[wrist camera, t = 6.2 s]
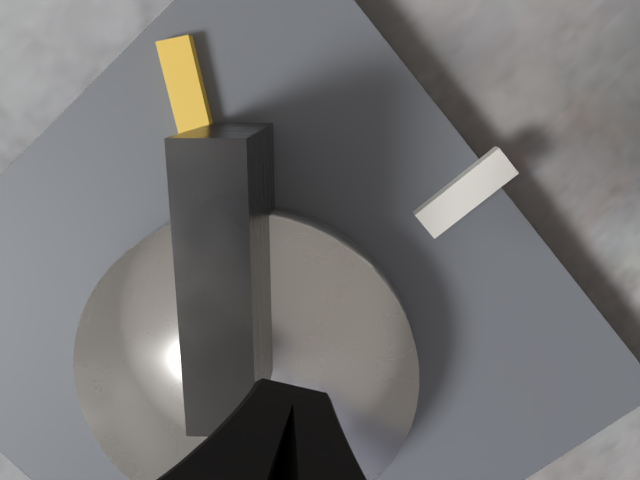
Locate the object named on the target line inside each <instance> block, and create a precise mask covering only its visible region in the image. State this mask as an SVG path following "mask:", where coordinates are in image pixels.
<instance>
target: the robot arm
mask: <svg viewBox="0 0 640 480" xmlns="http://www.w3.org/2000/svg"><path fill="white" fill-rule="evenodd" d="M156 480H367V479H366V477H365V475H364V473H363V471H362V469H361V467H360V465H359V464H358V462H357V460H356V458H355V456H354V454H353V452H352V450H351V447H350V445H349V443H348V441H347V439H346V436H345V434H344V432H343V430H342V427H341V425H340V422H339V420H338V418H337V415H336V412H335V410H334V407H333V404H332V401H331V399H330V397H329V396H328V394H327V393H325V392H321V391H316V390H312V389H308V388H303V387H299V386H295V385H290V384H286V383H282V382H277V381H273V380H268V379H264V378H262V379H260V380H258V381H256V382H255V383H254V385H253V387H252V388H251V390H250V391H249V393H248V394H247V395H246V397H245V398H244V399H243V401H242V402H241V403H240V404H239V405H238V406H237V408H236V409H235V410H234V411H233V412H232V413H231V414H230V415H229V416H228V417H227V418H226V419H225V420H224V421H223V422H222V424H221V425H220V426H219V427H218V428H217V429H216V430H215V431H214V432H213V433H212V434H211V435H210V436H209V437H207V438H206V439H205V440H204V441H203V442H202V443H201V444H199V445H198V446H197V447H196V448H195V449H194V450H193V451H191V452H190V453H189V454H188V455H187V456H186V457H185V458H183V459H182V460H181V461H180V462H179V463H177V464H176V465H175V466H174V467H172V468H171V469H170V470H169V471H167V472H166V473H165V474H163V475H162V476H161V477H159V478H158V479H156Z"/></svg>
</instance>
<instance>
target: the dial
mask: <svg viewBox="0 0 640 480" xmlns="http://www.w3.org/2000/svg"><path fill="white" fill-rule="evenodd" d="M164 142H165V156H166V169H167V182H168V196H169V209H170V222H168V223H166V224H164V225H162V226H161V227H159V228H158V229H156V230H155V231H153V232H152V233H150V234H149V235H147V236H146V237H144V238H143V239H142V240H141V241H139V242H138V243H137V244H136V245H134V246H133V247H132V248H130V249H129V250H128V251H127V252H126V253H125V254H123V255H122V256H121V257H120V258H119V259H118V260H117V261H116V262H115V263H114V264H113V265H111V267H110V268H109V269H108V270H107V272H106V273H105V274H104V275H103V277H102V278H101V279H100V280H99V281H98V283H97V285H96V286H95V288H94V290H93V291H92V293H91V295H90V296H89V298H88V300H87V302H86V305H85V307H84V310H83V312H82V315H81V317H80V320H79V324H78V328H77V332H76V336H75V342H74V354H73V369H74V382H75V387H76V391H77V396H78V401H79V404H80V406H81V409H82V412H83V415H84V418H85V420H86V422H87V424H88V426H89V428H90V430H91V432H92V434H93V436H94V438H95V439H96V441H97V442H98V444H99V445H100V447H101V448H102V450H103V451H104V453H105V454H106V455H107V456H108V458H109V459H110V460H111V461H112V462H113V463H114V465H115V466H116V467H117V468H118V469H119V470H120V471H121V472H122V473H123V474H124V475H125V476H126V477H128V478H129V479H130V480H156V479H158V478H159V477H161V476H162V475H163V474H165V473H166V472H167V471H169V470H170V469H171V468H172V467H174V466H175V465H176V464H177V463H179V462H180V461H181V460H182V459H183V458H185V457H186V456H187V455H188V454H189V453H190V452H191V451H193V450H194V449H195V448H196V447H197V446H198V445H199V444H201V443H202V442H203V441H204V440H205V439H206V438H207V437H209V436H210V435H211V434H212V433H213V432H214V431H215V430H216V429H217V428H218V427H219V426H220V425H221V424H222V422H223V421H224V420H225V419H226V418H227V417H228V416H229V415H230V414H231V413H232V412H233V411H234V410H235V409H236V408H237V406H238V405H239V404H240V403H241V402H242V401H243V399H244V398H245V397H246V395H247V394H248V393H249V391H250V390H251V388H252V387H253V385H254V383H255V382H256V381H258V380H260V379H262V378H264V379H268V380H273V381H277V382H282V383H286V384H290V385H295V386H299V387H303V388H308V389H312V390H316V391H321V392H325V393H327V394H328V396H329V397H330V399H331V401H332V404H333V407H334V410H335V412H336V415H337V418H338V420H339V422H340V425H341V427H342V430H343V432H344V434H345V436H346V439H347V441H348V443H349V445H350V447H351V450H352V452H353V454H354V456H355V458H356V460H357V462H358V464H359V465H360V467H361V469H362V471H363V473H364V475H365V477H366V479H367V480H377V479H378V478H379V477H380V476H381V475H382V473H383V472H384V471H385V470H386V469H387V467H388V466H389V465H390V464H391V463H392V462H393V460H394V458H395V457H396V455H397V454H398V452H399V450H400V449H401V447H402V446H403V444H404V442H405V440H406V437H407V435H408V433H409V431H410V428H411V426H412V422H413V419H414V415H415V412H416V408H417V402H418V394H419V363H418V357H417V351H416V345H415V342H414V338H413V335H412V331H411V328H410V324H409V321H408V318H407V315H406V312H405V309H404V306H403V304H402V301H401V299H400V297H399V295H398V293H397V291H396V289H395V287H394V286H393V284H392V283H391V281H390V280H389V278H388V277H387V275H386V274H385V272H384V271H383V269H382V268H381V267H380V266H379V265H378V264H377V262H376V261H375V260H374V259H373V258H372V257H371V256H370V255H369V253H367V252H366V251H365V250H364V249H363V248H362V247H360V246H359V245H358V244H357V243H356V242H355V241H354V240H352V239H351V238H349V237H348V236H346V235H345V234H343V233H342V232H340V231H339V230H337V229H336V228H334V227H333V226H331V225H328V224H326V223H324V222H322V221H320V220H318V219H316V218H314V217H312V216H309V215H306V214H303V213H300V212H297V211H294V210H291V209H286V208H281V207H276V206H275V186H274V140H273V123H212V124H209V125H206V126H202V127H199V128H196V129H192V130H189V131H186V132H183V133H179V134H176V135H173V136H170V137H166V138H164Z"/></svg>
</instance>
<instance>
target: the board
mask: <svg viewBox="0 0 640 480" xmlns="http://www.w3.org/2000/svg"><path fill="white" fill-rule="evenodd" d="M212 123H273V140H274V186H275V206H276V207H281V208H286V209H291V210H294V211H297V212H300V213H303V214H306V215H309V216H312V217H314V218H316V219H318V220H320V221H322V222H324V223H326V224H328V225H331V226H333V227H334V228H336V229H337V230H339V231H340V232H342V233H343V234H345V235H346V236H348V237H349V238H351V239H352V240H354V241H355V242H356V243H357V244H358V245H359V246H360V247H362V248H363V249H364V250H365V251H366V252H367V253H369V255H370V256H371V257H372V258H373V259H374V260H375V261H376V262H377V264H378V265H379V266H380V267H381V268H382V269H383V271H384V272H385V274H386V275H387V277H388V278H389V280H390V281H391V283H392V284H393V286H394V287H395V289H396V291H397V293H398V295H399V297H400V299H401V301H402V304H403V306H404V309H405V312H406V315H407V318H408V321H409V324H410V328H411V331H412V335H413V338H414V342H415V345H416V351H417V357H418V363H419V394H418V402H417V408H416V412H415V415H414V419H413V422H412V426H411V428H410V431H409V433H408V435H407V437H406V440H405V442H404V444H403V446H402V447H401V449H400V450H399V452H398V454H397V455H396V457H395V458H394V460H393V462H392V463H391V464H390V465H389V466H388V467H387V469H386V470H385V471H384V472H383V473H382V475H381V476H380V477H379V478H378V479H377V480H525V479H526V478H528V477H529V476H531V475H533V474H534V473H536V472H537V471H539V470H540V469H542V468H543V467H545V466H547V465H548V464H550V463H551V462H553V461H554V460H556V459H557V458H559V457H561V456H562V455H564V454H565V453H567V452H568V451H570V450H571V449H573V448H575V447H576V446H578V445H579V444H581V443H582V442H584V441H586V440H587V439H589V438H590V437H592V436H593V435H595V434H596V433H598V432H600V431H601V430H603V429H604V428H606V427H607V426H609V425H610V424H612V423H614V422H615V421H617V420H618V419H620V418H621V417H623V416H624V415H626V414H628V413H629V412H631V411H632V410H634V409H635V408H637V407H638V406H640V363H639V361H638V360H637V359H636V358H635V356H634V355H633V354H632V353H631V351H630V350H629V349H628V347H627V346H626V345H625V344H624V342H623V341H622V340H621V339H620V337H619V336H618V335H617V334H616V332H615V331H614V330H613V328H612V327H611V326H610V325H609V323H608V322H607V321H606V320H605V318H604V317H603V316H602V314H601V313H600V312H599V311H598V309H597V308H596V307H595V306H594V304H593V303H592V302H591V300H590V299H589V298H588V297H587V295H586V294H585V293H584V292H583V290H582V289H581V288H580V287H579V285H578V284H577V283H576V281H575V280H574V279H573V278H572V276H571V275H570V274H569V273H568V271H567V270H566V269H565V267H564V266H563V265H562V264H561V262H560V261H559V260H558V259H557V257H556V256H555V255H554V253H553V252H552V251H551V250H550V248H549V247H548V246H547V245H546V243H545V242H544V241H543V239H542V238H541V237H540V236H539V234H538V233H537V232H536V231H535V229H534V228H533V227H532V226H531V224H530V223H529V222H528V220H527V219H526V218H525V217H524V215H523V214H522V213H521V212H520V210H519V209H518V208H517V206H516V205H515V204H514V203H513V201H512V200H511V199H510V198H509V196H508V195H507V194H506V192H505V191H504V190H503V189H502V186H503V185H505V184H506V183H507V182H508V181H510V180H511V179H512V178H514V177H515V176H516V175H517V174H519V173H518V171H517V170H516V169H515V168H514V166H513V165H512V164H511V162H510V161H509V160H508V158H507V157H506V156H505V155H504V153H503V152H502V151H501V149H500V148H498V147H496V146H495V147H493V148H492V149H491V150H490V151H488V152H487V153H486V154H485V155H483V156H482V157H481V158H480V159H479V158H478V157H477V156H476V154H475V153H474V152H473V151H472V149H471V148H470V147H469V145H468V144H467V143H466V142H465V140H464V139H463V138H462V137H461V135H460V134H459V133H458V132H457V130H456V129H455V128H454V126H453V125H452V124H451V123H450V121H449V120H448V119H447V118H446V116H445V115H444V114H443V112H442V111H441V110H440V109H439V107H438V106H437V105H436V104H435V102H434V101H433V100H432V98H431V97H430V96H429V95H428V93H427V92H426V91H425V90H424V88H423V87H422V86H421V85H420V83H419V82H418V81H417V79H416V78H415V77H414V76H413V74H412V73H411V72H410V71H409V69H408V68H407V67H406V65H405V64H404V63H403V62H402V60H401V59H400V58H399V57H398V55H397V54H396V53H395V51H394V50H393V49H392V48H391V46H390V45H389V44H388V43H387V41H386V40H385V39H384V38H383V36H382V35H381V34H380V32H379V31H378V30H377V29H376V27H375V26H374V25H373V24H372V22H371V21H370V20H369V18H368V17H367V16H366V15H365V13H364V12H363V11H362V10H361V8H360V7H359V6H358V4H357V3H356V2H355V1H354V0H174V1H173V2H172V3H171V4H170V5H169V6H168V7H167V8H166V9H165V10H164V11H163V12H162V13H161V14H160V15H159V16H158V17H157V18H156V19H155V20H154V21H153V22H152V23H151V24H150V25H149V26H148V27H147V28H146V29H145V30H144V31H143V32H142V33H141V34H140V35H139V36H138V37H137V38H136V39H135V40H134V41H133V42H132V43H131V44H130V45H129V46H128V47H127V48H126V49H125V50H124V51H123V53H122V54H121V55H120V56H119V57H118V58H117V59H116V60H115V61H114V62H113V63H112V64H111V65H110V66H109V67H108V68H107V69H106V70H105V71H104V72H103V73H102V74H101V75H100V76H99V77H98V78H97V79H96V80H95V81H94V82H93V83H92V84H91V85H90V86H89V87H88V88H87V89H86V90H85V91H84V92H83V93H82V94H81V95H80V96H79V97H78V98H77V99H76V100H75V101H74V102H73V103H72V104H71V105H70V106H69V107H68V108H67V109H66V110H65V111H64V112H63V113H62V114H61V115H60V116H59V117H58V118H57V119H56V120H55V121H54V122H53V123H52V124H51V125H50V126H49V127H48V128H47V129H46V130H45V131H44V132H43V133H42V134H41V135H40V136H39V137H38V138H37V139H36V140H35V141H34V142H33V143H32V144H31V145H30V146H29V147H28V148H27V149H26V150H25V151H24V152H23V153H22V154H21V155H20V156H19V157H18V158H17V159H16V160H15V161H14V162H13V163H12V164H11V165H10V166H9V167H8V168H7V169H6V170H5V171H4V172H3V173H2V174H1V175H0V452H1V453H2V454H3V455H4V456H5V457H6V458H7V459H9V460H10V461H11V462H12V463H13V464H14V465H15V466H17V467H18V468H19V469H20V470H21V471H22V472H23V473H24V474H26V475H27V476H28V477H29V478H30V479H31V480H130V479H129V478H128V477H126V476H125V475H124V474H123V473H122V472H121V471H120V470H119V469H118V468H117V467H116V466H115V465H114V463H113V462H112V461H111V460H110V459H109V458H108V456H107V455H106V454H105V453H104V451H103V450H102V448H101V447H100V445H99V444H98V442H97V441H96V439H95V438H94V436H93V434H92V432H91V430H90V428H89V426H88V424H87V422H86V420H85V418H84V415H83V412H82V409H81V406H80V404H79V401H78V396H77V391H76V387H75V382H74V369H73V354H74V342H75V336H76V332H77V328H78V324H79V320H80V317H81V315H82V312H83V310H84V307H85V305H86V302H87V300H88V298H89V296H90V295H91V293H92V291H93V290H94V288H95V286H96V285H97V283H98V281H99V280H100V279H101V278H102V277H103V275H104V274H105V273H106V272H107V270H108V269H109V268H110V267H111V265H113V264H114V263H115V262H116V261H117V260H118V259H119V258H120V257H121V256H122V255H123V254H125V253H126V252H127V251H128V250H129V249H130V248H132V247H133V246H134V245H136V244H137V243H138V242H139V241H141V240H142V239H143V238H144V237H146V236H147V235H149V234H150V233H152V232H153V231H155V230H156V229H158V228H159V227H161V226H162V225H164V224H166V223H168V222H170V209H169V196H168V182H167V169H166V156H165V142H164V138H166V137H170V136H173V135H176V134H179V133H183V132H186V131H189V130H192V129H196V128H199V127H202V126H206V125H209V124H212Z"/></svg>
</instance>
